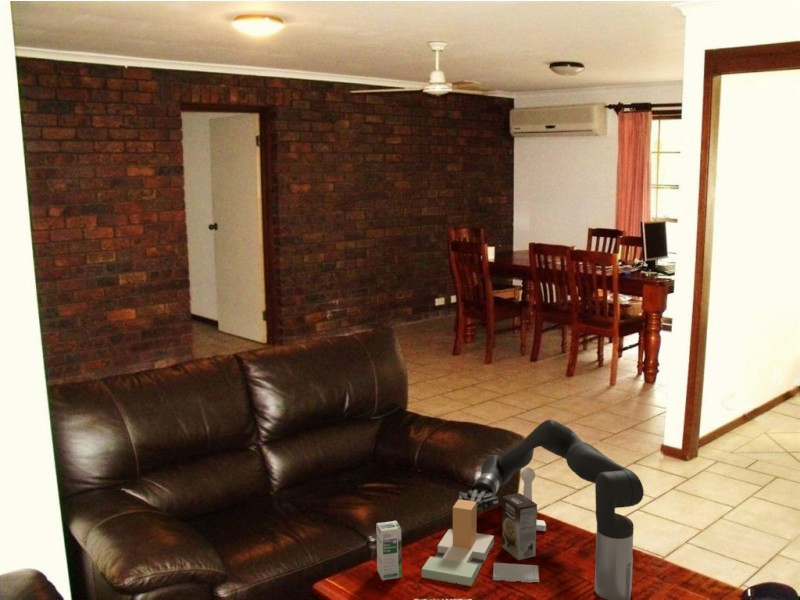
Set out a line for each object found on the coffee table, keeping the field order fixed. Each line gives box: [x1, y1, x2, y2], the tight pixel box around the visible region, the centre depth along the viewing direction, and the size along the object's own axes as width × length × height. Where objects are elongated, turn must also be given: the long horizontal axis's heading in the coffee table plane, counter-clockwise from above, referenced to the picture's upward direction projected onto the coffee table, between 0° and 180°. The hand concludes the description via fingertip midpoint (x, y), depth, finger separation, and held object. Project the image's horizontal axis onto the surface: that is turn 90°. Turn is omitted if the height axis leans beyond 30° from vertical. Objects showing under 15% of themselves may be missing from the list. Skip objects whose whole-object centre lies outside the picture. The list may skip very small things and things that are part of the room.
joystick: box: [520, 467, 547, 532], centre depth 239 cm, size 11×8×20 cm
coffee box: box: [501, 492, 538, 561], centre depth 226 cm, size 9×6×16 cm
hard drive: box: [492, 562, 540, 584], centre depth 215 cm, size 2×8×12 cm
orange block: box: [452, 498, 478, 549], centre depth 227 cm, size 6×6×12 cm
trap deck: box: [421, 528, 495, 587], centre depth 223 cm, size 14×26×2 cm, turn 160°
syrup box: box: [375, 520, 403, 581], centre depth 214 cm, size 6×6×14 cm
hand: (471, 510), depth 233 cm, fingers closed
